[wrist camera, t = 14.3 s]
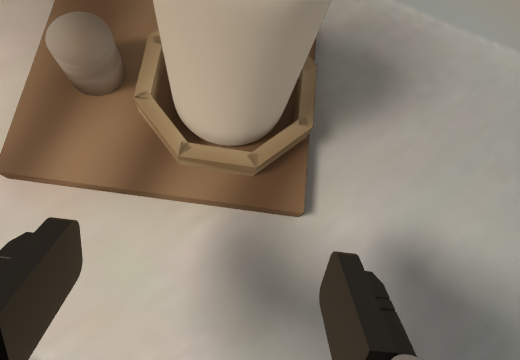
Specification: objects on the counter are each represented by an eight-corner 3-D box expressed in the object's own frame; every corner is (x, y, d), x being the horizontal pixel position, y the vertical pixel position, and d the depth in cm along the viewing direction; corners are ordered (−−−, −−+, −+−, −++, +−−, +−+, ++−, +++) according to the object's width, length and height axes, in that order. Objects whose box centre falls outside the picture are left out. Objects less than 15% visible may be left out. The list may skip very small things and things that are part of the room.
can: (235, 33, 22) (264, -244, 10) (305, 107, 21) (420, -105, 9) (149, 88, 20) (68, -175, 8) (223, 171, 19) (242, 5, 8)
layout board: (7, 178, 18) (-49, 149, 14) (72, -13, 22) (42, -76, 18) (298, 217, 20) (320, 200, 16) (311, 33, 24) (332, -17, 20)
